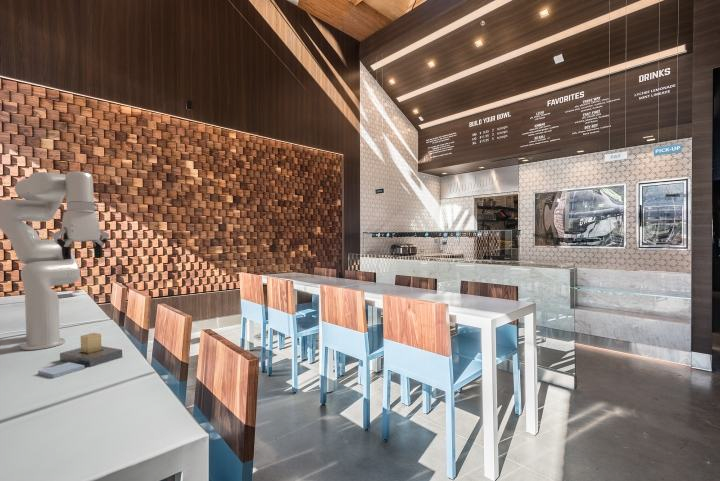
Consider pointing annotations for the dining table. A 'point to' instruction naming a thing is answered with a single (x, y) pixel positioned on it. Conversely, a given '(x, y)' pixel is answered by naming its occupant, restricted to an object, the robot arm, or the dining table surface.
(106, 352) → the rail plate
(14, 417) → the dining table surface
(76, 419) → the dining table surface
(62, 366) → the mat
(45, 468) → the dining table surface
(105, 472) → the dining table surface
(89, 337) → the brass block
